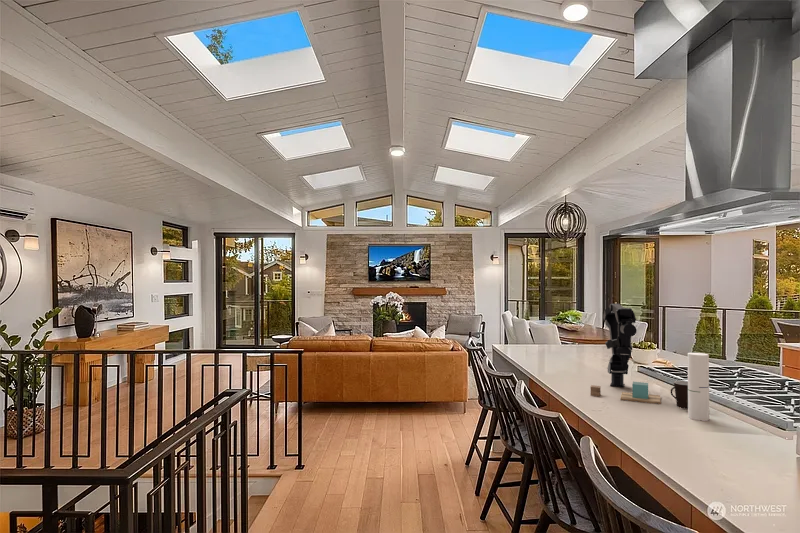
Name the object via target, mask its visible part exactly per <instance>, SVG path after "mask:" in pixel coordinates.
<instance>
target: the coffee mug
mask: <svg viewBox="0 0 800 533" xmlns="http://www.w3.org/2000/svg"><path fill="white" fill-rule="evenodd" d="M673 391H674V393H673ZM670 394H671V396H672V397H673V398H674V399H675V401H676V407H677V406H678V407H677V408H680V407H681V408H680V409H686V408H687V410H688V380H687V381H685V380H676V381H673V387H671V389H670Z"/></svg>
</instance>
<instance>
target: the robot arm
mask: <svg viewBox="0 0 800 533" xmlns="http://www.w3.org/2000/svg"><path fill="white" fill-rule="evenodd" d="M602 316H603V318H602V319H603V321H604V324H605V325H606V326H607V328H608V329H609V330H608V331H609V338H610V339H609V340H607V341H605V343H604V344H605V346H606V349H607V350H609V349H611V357H610V358H609V361H608V365H607V367H606V368H607V373H608V374H610V375H611V376H610V377H611V381H610V384H609V385H610V387H620V388H624V387H625V385H626V384H625V383H624V375H629V373H628V372H629V371H628V370H629V366H630V365H629V361H630V359H631V356H632V352H633V345H632V337H633V336H636V334H637V331H638V329H637V326H635V325H634V324H636V321H637V318H636V315H635V312H634V310H633V309H632V308H631V307H624V306H622V305H621V304H620V303H610V304H609V306H608V307H607V308H606V309H604V311H603V315H602Z"/></svg>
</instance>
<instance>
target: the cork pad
mask: <svg viewBox="0 0 800 533" xmlns="http://www.w3.org/2000/svg"><path fill="white" fill-rule="evenodd" d="M619 400H620V401H625V400H628V401H627V402H635V401H638V402H637V403H645V402H647V403H648V404H655V403H658V404H657V405H661V404H662V402H661V394H660V395H659V394H649V393H648V399H642V398H632V392H629V391H628V392H626V391H622V392H621V394H620V399H619ZM647 403H646V404H647Z"/></svg>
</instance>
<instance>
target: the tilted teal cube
mask: <svg viewBox="0 0 800 533" xmlns="http://www.w3.org/2000/svg"><path fill="white" fill-rule="evenodd" d="M631 384H632V386H631V387H632V388H631V389H632V392H631V393H632V398H642V399H648V394H649V382H645V381H644V382H643V381H642V382H641V381H632V383H631Z"/></svg>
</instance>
